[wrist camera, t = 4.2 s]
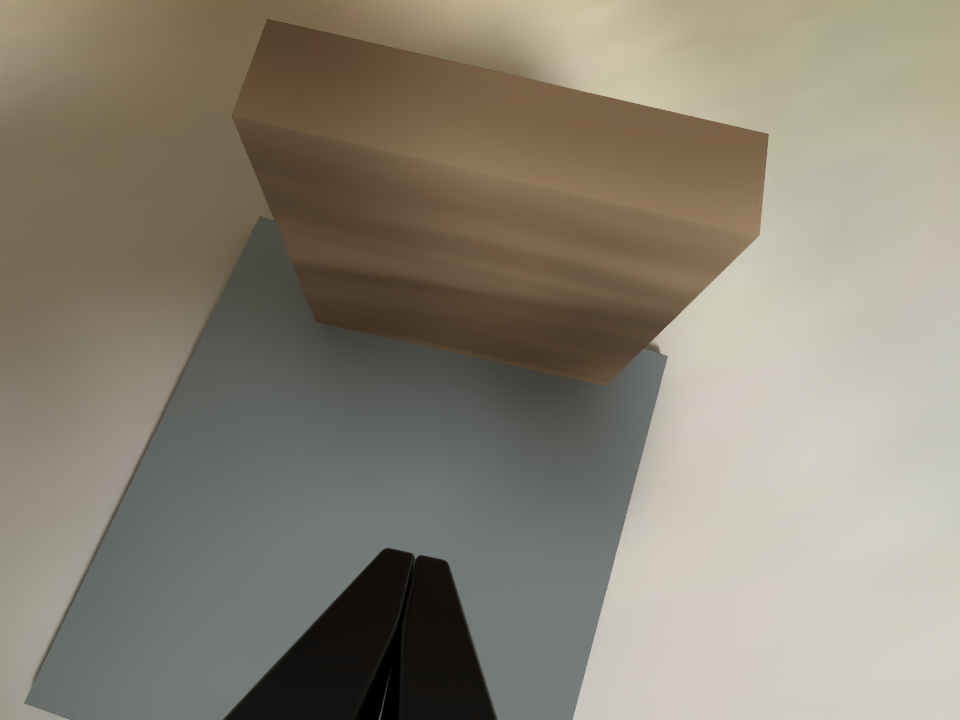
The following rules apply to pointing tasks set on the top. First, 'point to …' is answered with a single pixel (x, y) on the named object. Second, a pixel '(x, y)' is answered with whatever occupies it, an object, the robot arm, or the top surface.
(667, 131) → the board
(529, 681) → the mat
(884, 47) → the top surface
